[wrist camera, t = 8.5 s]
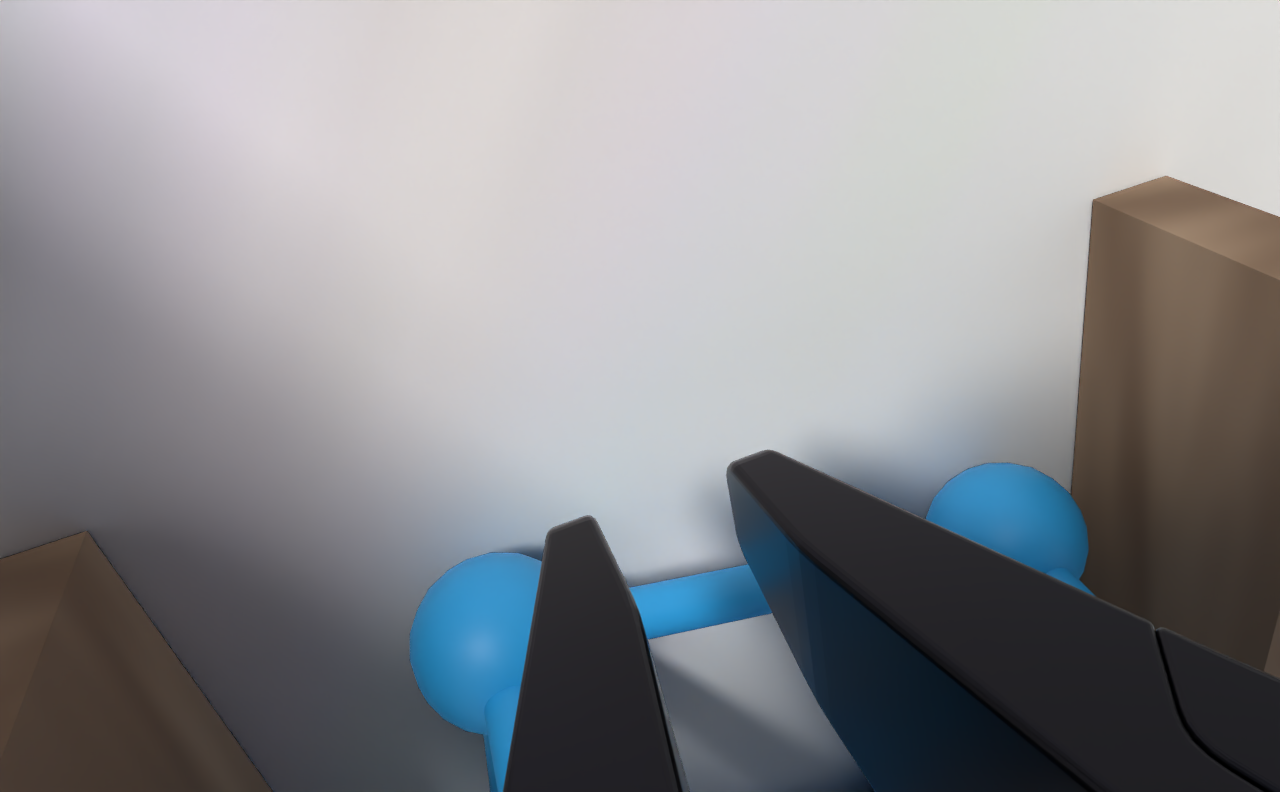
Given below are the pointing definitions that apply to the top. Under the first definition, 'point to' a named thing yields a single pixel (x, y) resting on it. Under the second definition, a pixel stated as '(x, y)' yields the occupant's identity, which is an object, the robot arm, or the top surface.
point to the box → (1101, 487)
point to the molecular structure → (691, 597)
